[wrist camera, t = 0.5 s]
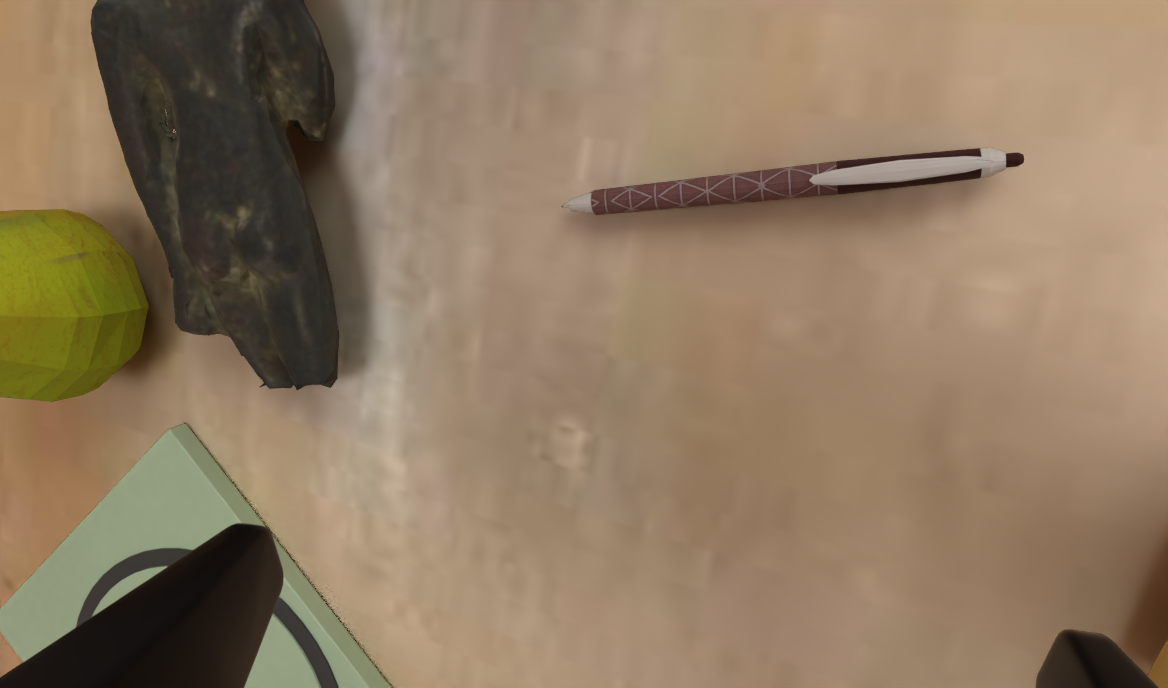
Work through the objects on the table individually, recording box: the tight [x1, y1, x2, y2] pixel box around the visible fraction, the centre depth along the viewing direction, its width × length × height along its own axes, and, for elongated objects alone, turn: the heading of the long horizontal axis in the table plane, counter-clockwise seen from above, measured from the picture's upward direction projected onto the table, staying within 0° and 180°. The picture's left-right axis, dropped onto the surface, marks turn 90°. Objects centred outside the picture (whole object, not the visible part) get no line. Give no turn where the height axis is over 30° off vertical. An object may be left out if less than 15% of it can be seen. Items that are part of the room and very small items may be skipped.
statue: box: [91, 0, 339, 390], centre depth 22 cm, size 6×5×20 cm
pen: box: [562, 148, 1024, 215], centre depth 20 cm, size 11×1×1 cm, turn 96°
